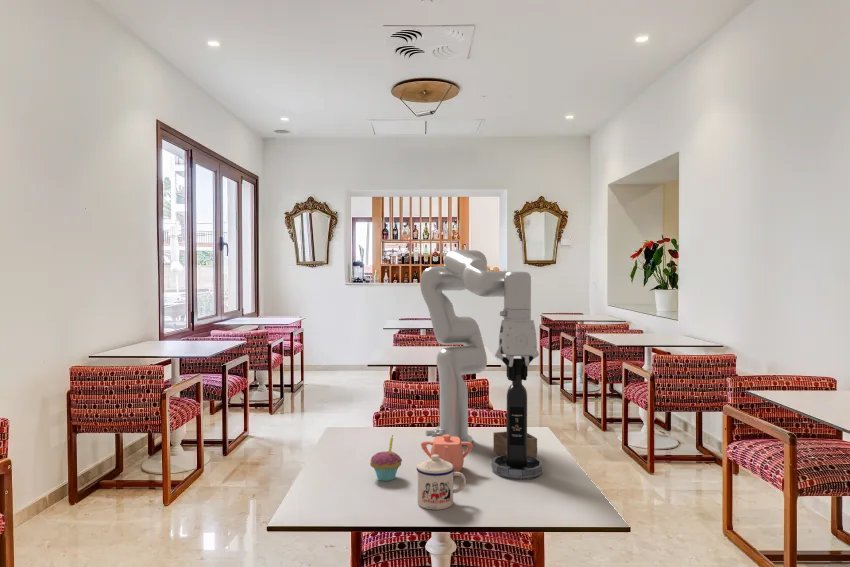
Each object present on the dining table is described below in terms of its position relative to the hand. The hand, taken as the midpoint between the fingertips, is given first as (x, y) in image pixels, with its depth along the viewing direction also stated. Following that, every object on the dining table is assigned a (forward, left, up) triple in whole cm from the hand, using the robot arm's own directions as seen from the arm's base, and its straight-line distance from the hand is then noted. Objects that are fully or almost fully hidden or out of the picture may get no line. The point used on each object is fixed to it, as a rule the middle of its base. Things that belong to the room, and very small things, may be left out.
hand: (517, 379), depth 163 cm
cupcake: (-37, +5, -26) cm, 46 cm away
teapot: (-19, +6, -26) cm, 33 cm away
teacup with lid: (-28, -16, -26) cm, 42 cm away
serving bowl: (0, 0, -26) cm, 26 cm away
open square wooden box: (+6, +14, -26) cm, 30 cm away
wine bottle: (0, 0, -24) cm, 24 cm away
